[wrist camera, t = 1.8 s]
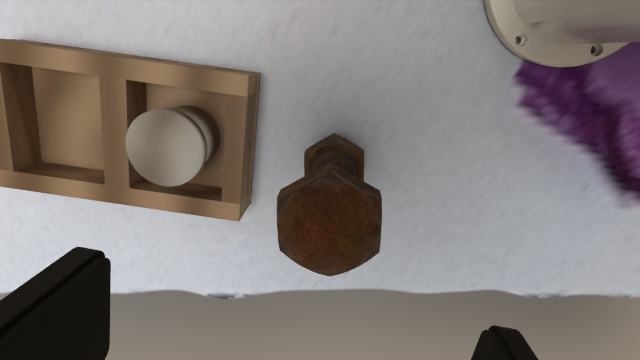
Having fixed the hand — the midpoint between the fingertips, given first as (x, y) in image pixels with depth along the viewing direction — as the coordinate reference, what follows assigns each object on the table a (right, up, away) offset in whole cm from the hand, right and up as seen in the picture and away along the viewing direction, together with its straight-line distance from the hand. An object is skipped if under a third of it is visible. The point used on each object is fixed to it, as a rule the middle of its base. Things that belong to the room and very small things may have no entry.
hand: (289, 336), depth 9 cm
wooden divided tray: (-15, +9, +23) cm, 29 cm away
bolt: (+2, +6, +23) cm, 24 cm away
